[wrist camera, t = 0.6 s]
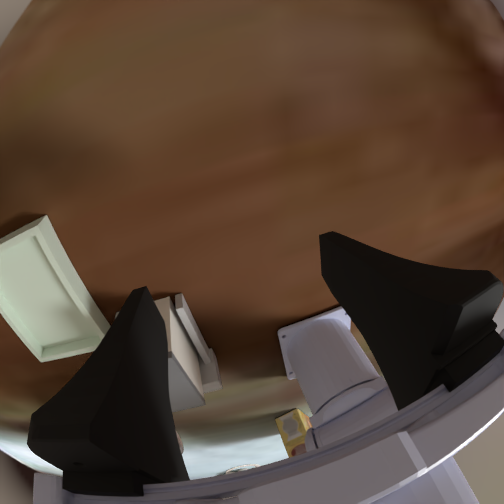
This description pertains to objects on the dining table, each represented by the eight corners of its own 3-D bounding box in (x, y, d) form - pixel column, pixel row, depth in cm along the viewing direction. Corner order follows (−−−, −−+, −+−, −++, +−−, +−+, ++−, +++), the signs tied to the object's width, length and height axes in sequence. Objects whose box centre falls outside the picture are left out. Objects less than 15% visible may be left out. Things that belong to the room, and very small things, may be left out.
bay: (216, 356, 28) (223, 388, 25) (155, 372, 27) (156, 403, 24) (185, 292, 23) (188, 326, 20) (113, 313, 23) (107, 347, 19)
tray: (114, 332, 24) (112, 346, 22) (45, 349, 23) (41, 362, 21) (46, 214, 17) (37, 225, 16) (-23, 252, 16) (-32, 263, 15)
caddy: (196, 348, 27) (205, 404, 21) (159, 357, 27) (162, 414, 21) (166, 290, 23) (168, 352, 17) (123, 303, 23) (115, 364, 17)
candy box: (273, 418, 39) (304, 505, 26) (297, 406, 38) (334, 494, 26) (294, 430, 44) (323, 503, 31) (316, 420, 43) (348, 492, 30)
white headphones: (221, 475, 52) (225, 489, 49) (221, 466, 48) (225, 482, 45) (258, 469, 55) (262, 483, 51) (261, 460, 51) (266, 475, 47)
